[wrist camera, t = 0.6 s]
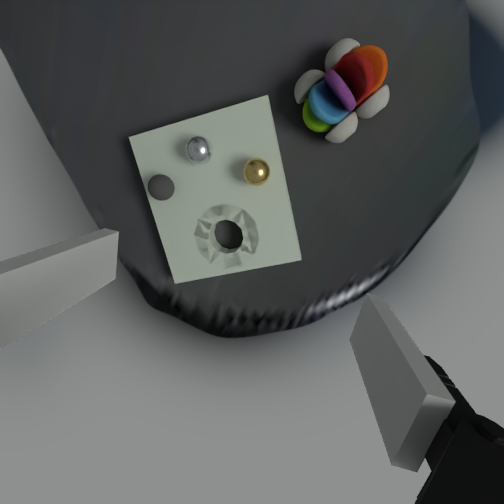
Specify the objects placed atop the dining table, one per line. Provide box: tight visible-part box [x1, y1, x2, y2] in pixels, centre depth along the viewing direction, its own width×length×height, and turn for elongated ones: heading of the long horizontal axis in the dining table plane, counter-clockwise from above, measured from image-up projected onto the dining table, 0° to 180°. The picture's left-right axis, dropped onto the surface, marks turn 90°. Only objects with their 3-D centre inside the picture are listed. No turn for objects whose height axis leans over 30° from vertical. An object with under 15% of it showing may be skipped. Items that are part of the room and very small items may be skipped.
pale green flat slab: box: [129, 95, 302, 283], centre depth 38 cm, size 20×18×2 cm
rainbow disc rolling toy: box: [294, 38, 389, 143], centre depth 30 cm, size 8×10×7 cm
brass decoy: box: [243, 158, 270, 186], centre depth 33 cm, size 3×3×3 cm
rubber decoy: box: [148, 174, 175, 201], centre depth 35 cm, size 3×3×3 cm
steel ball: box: [186, 136, 213, 164], centre depth 34 cm, size 3×3×3 cm
